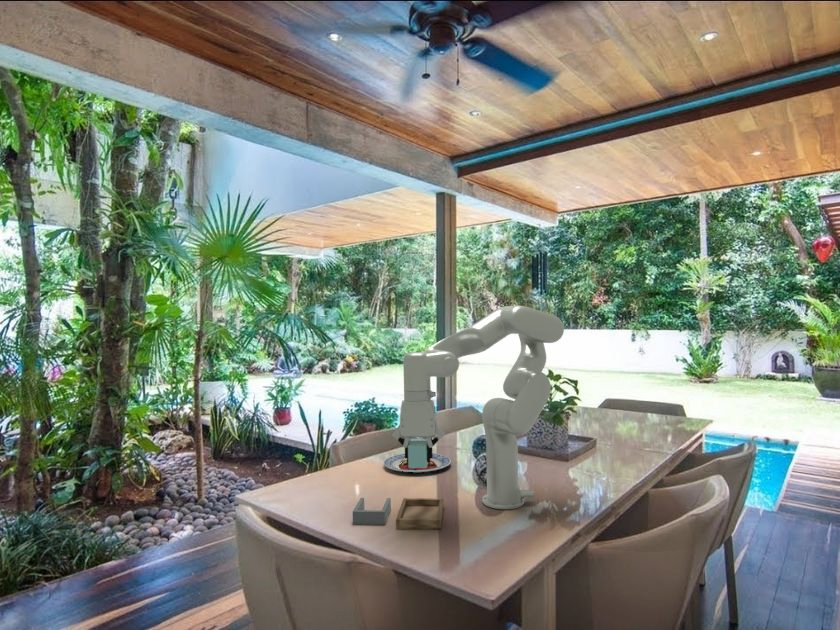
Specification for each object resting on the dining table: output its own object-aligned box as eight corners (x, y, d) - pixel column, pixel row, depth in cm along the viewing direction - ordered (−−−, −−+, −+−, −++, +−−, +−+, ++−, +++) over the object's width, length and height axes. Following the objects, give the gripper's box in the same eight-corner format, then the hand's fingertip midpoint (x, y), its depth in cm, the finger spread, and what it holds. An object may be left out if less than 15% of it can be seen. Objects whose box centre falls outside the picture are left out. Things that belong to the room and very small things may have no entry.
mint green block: (429, 456, 152) (429, 436, 152) (426, 468, 140) (426, 446, 140) (413, 456, 152) (412, 436, 152) (408, 467, 140) (407, 445, 140)
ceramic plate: (462, 471, 189) (462, 463, 189) (396, 481, 180) (396, 472, 180) (434, 455, 213) (434, 447, 213) (375, 462, 204) (375, 455, 204)
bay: (390, 509, 152) (390, 498, 152) (384, 524, 141) (384, 511, 141) (361, 509, 153) (360, 497, 153) (352, 524, 142) (352, 511, 142)
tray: (443, 506, 153) (443, 498, 153) (440, 529, 137) (440, 520, 137) (403, 506, 155) (403, 498, 155) (396, 528, 138) (395, 519, 138)
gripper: (448, 394, 147) (449, 457, 147) (389, 394, 149) (390, 457, 148) (447, 398, 140) (448, 464, 139) (385, 398, 141) (386, 464, 141)
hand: (418, 460), depth 144 cm, fingers closed on mint green block, 5 cm apart
